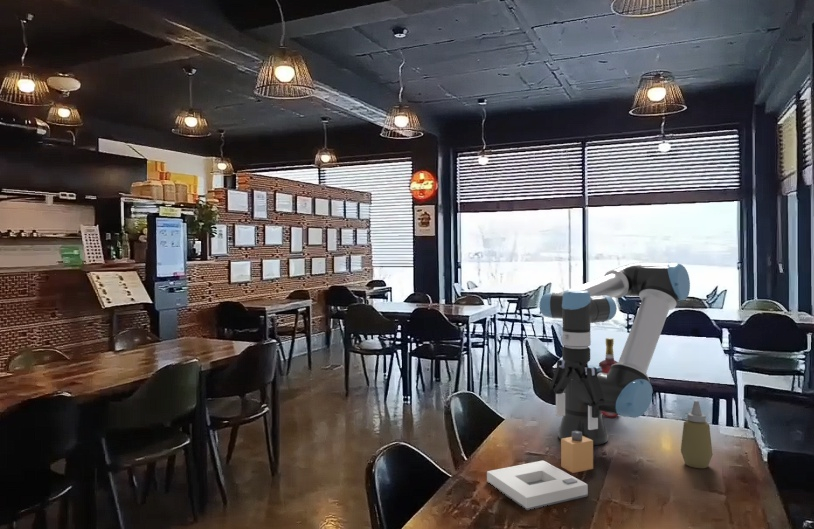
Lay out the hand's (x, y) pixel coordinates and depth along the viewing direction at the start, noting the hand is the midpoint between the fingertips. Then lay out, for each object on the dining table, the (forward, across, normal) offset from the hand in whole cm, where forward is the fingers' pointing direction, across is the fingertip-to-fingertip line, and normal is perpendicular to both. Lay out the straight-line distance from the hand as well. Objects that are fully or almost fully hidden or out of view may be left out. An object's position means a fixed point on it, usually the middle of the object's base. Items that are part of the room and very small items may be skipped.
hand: (576, 422), depth 164 cm
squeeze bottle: (+13, +13, +32) cm, 36 cm away
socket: (+13, +7, -18) cm, 24 cm away
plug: (+13, 0, 0) cm, 13 cm away
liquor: (+12, -34, +44) cm, 57 cm away
